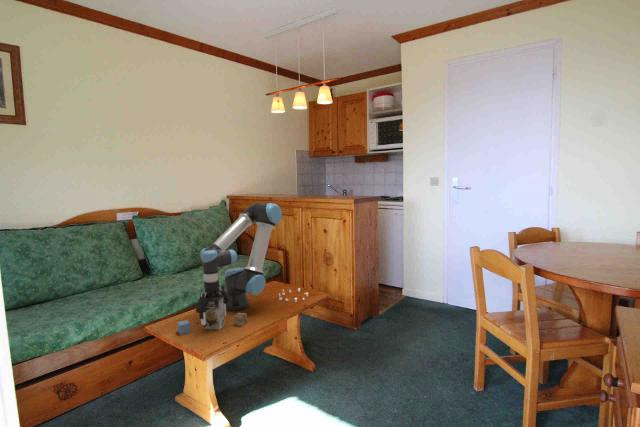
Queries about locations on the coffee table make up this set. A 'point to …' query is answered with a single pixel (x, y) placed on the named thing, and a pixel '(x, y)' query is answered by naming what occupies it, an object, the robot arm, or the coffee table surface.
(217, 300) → the coffee box
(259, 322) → the coffee table surface
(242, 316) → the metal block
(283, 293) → the game piece set
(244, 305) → the robot arm
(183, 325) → the slate block
